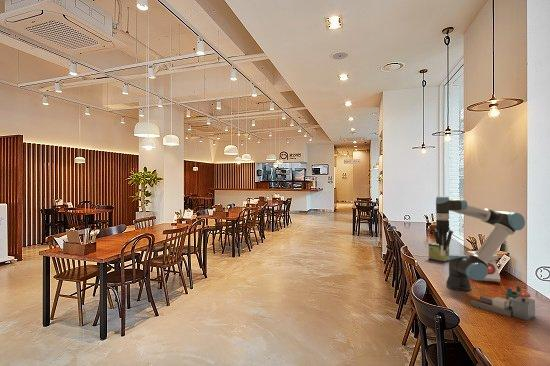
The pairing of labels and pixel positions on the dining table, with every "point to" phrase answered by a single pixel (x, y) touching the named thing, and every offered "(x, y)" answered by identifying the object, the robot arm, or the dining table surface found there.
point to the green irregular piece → (512, 293)
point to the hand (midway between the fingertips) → (442, 255)
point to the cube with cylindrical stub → (499, 302)
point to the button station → (522, 306)
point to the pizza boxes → (490, 268)
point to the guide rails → (489, 307)
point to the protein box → (438, 253)
